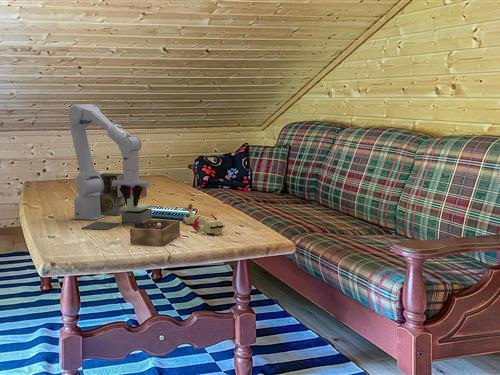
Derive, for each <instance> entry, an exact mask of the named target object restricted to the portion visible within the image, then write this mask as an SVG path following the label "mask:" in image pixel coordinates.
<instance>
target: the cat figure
mask: <svg viewBox="0 0 500 375" xmlns="http://www.w3.org/2000/svg"><path fill="white" fill-rule="evenodd" d="M193 208H194V207H193V204H192V203H188V206H187V211H188V214H189V216H188V217H187V216H183V217H182V218H183V220H182V222H181V223H182V224H185V225H187V224H189V225H192V228H193V230H194V231H196V232H199V231H202V232H203V231H204V232H203V234H208V235H209V234H211V235H212V234H214V235H221V234H220V233H222V231H223V229H224V228H226V225H225V224H224V223H223V222H222V221H221V220H218V218H217V217H215V215H213V214H211V217H212V218H211V217H208V216H207V215H201V214H195V213H194V212H193V210H192V209H193ZM199 225H200V226H199ZM198 226H199V229H198Z"/></svg>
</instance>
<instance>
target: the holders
mask: <svg viewBox="0 0 500 375" xmlns="http://www.w3.org/2000/svg"><path fill="white" fill-rule="evenodd" d="M147 188H148V187H143V190H142V192H141V194H140V197H139V200H141V199H144V198H145V197H147V196H148V193H147V191H148V190H147ZM131 197H133V192H132V191H131V192H130V198H131ZM125 205H126V202H125ZM147 222H162V230H158V227H157V224H156V227H153V226H151V227H148V224H144V229H136V228H135V227H134V226H133V227H130V228H129V235H130V236H129V237H130V239H129V240H130V242H129V243H130V244H132V245H142V246H158V247H159V246H166V245H168V244H169V243H171V242H172V241H173V240H175V239H176V238H178V237H179V236H180V235H181V228H180V227H181V225H180V224H181V223H180V220H178V219H177V220H175V219H174V220H173V219H157V218H156V219H154V218H152V219H148V220H146V221H144V222H142V223H147Z"/></svg>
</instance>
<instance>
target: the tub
mask: <svg viewBox="0 0 500 375" xmlns="http://www.w3.org/2000/svg"><path fill="white" fill-rule="evenodd" d="M136 212H138V211H126V210H125V211H124V212H122V213H121V214H120V215H121V216H120V218H121V224H126V225H127V224H128V225H129V224H130V225H134V223H142V222H144V221H146V220H148V219H151V218H152V219H153V213H152V212H153V210H152V208H147V209H144V210H142V211H140V212H141V213H136Z"/></svg>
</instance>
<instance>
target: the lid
mask: <svg viewBox="0 0 500 375" xmlns="http://www.w3.org/2000/svg"><path fill="white" fill-rule="evenodd" d="M152 207H153V203H138V206H134V202H133V197H131V198H128V199H127V206H126V205H125V206H123V207H120V210H125V211H142V210H144V209H150V208H152Z"/></svg>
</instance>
